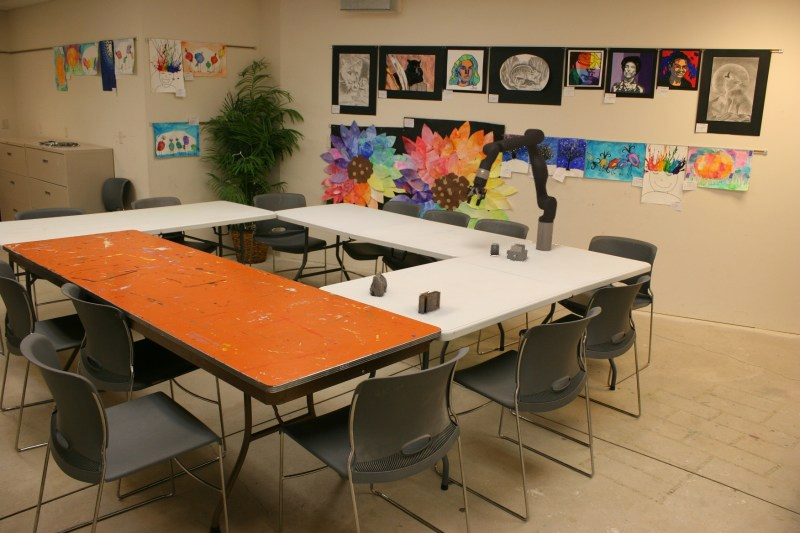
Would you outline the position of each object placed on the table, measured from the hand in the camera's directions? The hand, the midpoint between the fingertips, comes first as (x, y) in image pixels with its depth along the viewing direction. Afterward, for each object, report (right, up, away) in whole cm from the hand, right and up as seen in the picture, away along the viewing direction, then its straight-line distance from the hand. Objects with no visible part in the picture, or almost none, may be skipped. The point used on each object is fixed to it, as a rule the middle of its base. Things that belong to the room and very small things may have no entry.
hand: (472, 204), depth 385 cm
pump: (+14, -29, +8) cm, 33 cm away
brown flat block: (-30, -54, -107) cm, 124 cm away
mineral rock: (-50, -48, -84) cm, 109 cm away
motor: (+24, -31, 0) cm, 39 cm away
